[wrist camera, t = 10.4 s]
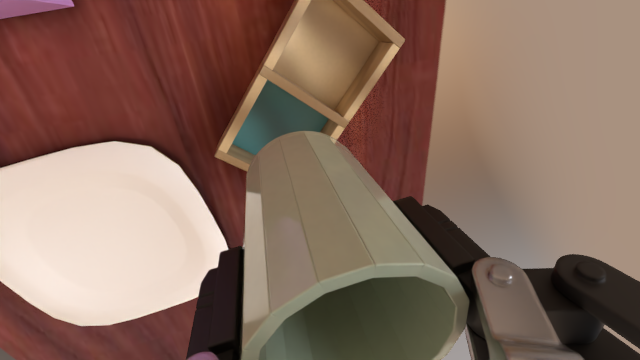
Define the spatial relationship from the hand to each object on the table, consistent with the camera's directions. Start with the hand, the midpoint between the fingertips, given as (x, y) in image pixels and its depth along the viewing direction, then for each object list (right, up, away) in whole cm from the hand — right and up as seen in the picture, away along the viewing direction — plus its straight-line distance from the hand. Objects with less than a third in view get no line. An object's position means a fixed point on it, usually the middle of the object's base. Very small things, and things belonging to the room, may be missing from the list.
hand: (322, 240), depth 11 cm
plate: (-22, -4, +19) cm, 30 cm away
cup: (-1, +2, +4) cm, 5 cm away
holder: (-2, +11, +16) cm, 19 cm away
